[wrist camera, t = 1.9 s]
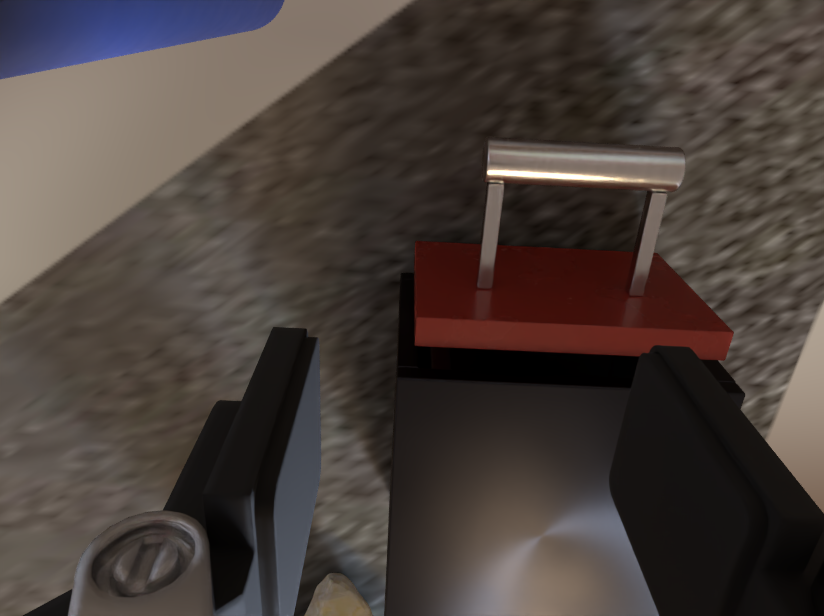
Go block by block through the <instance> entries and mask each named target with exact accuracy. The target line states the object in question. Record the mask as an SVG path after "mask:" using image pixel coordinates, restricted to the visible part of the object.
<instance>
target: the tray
mask: <svg viewBox="0 0 824 616" xmlns="http://www.w3.org/2000/svg"><path fill="white" fill-rule="evenodd" d="M685 169H686V157H685V153H684V151H683V150H682V149H681V148H679V147H663V146H645V145H627V144H609V143H590V142H572V141H554V140H536V139H518V138H499V137H487V138H486V140H485V143H484V148H483V156H482V179H483V182H487V186H486V195H485V205H484V214H483V223H482V232H481V241H480V244H467V243H448V242H428V241H416V242H415V256H414V330H415V346H423V358H422V368H426V369H448V370H469V371H491V372H513V373H535V374H556V375H578V376H600V377H621V378H634V374H635V370H636V366H637V362H638V359H639V357H640V355H641V354H642V353H649V351H650V350H651V348H652V347H653V346H655V345H661V346H682V347H690V348H691V349H692V350H693V351H694V352H695V354H696V355H697V356H698V357H699V359H702V360H723V361H724V360H725V359H726V356H727V352H728V349H729V346H730V343H731V340H732V337H733V334H734V332H733V331H732V330H731V329H730V328H729V327H728V326H727V325H726V324H725V323H724V322H723V321H722V320H721V319H720V318H719V317H718V316H717V315H716V313H715V312H714V311H713V310H712V309H711V308H710V307H709V306H708V305H707V304H706V303H705V302H704V301H703V300H702V299H701V298H700V297H699V296H698V295H697V294H696V293H695V292H694V291H693V290H692V289H691V288H690V287H689V286H688V285H687V283H686V282H685V281H684V280H683V279H682V278H681V277H680V276H679V275H678V274H677V273H676V272H675V271H674V270H673V269H672V268H671V267H670V266H669V265H668V264H667V263H666V262H665V261H664V260H663V259H662V258H661V257H660V256H659V254H658V253H654V249H655V245H656V241H657V237H658V233H659V229H660V225H661V220H662V216H663V212H664V208H665V204H666V200H667V196H668V194H667V193H666V192H675V191H677V190H678V188H679V187H680V186H681V184H682V181H683V178H684V175H685ZM504 183H505V184H524V185H543V186H562V187H580V188H599V189H618V190H637V191H647V194H646V198H645V203H644V207H643V212H642V216H641V221H640V225H639V229H638V234H637V238H636V243H635V247H634V251H633V252H625V251H605V250H585V249H566V248H546V247H526V246H507V245H498V237H499V229H500V220H501V212H502V204H503V196H504V188H505V186H504Z"/></svg>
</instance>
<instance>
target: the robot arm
mask: <svg viewBox="0 0 824 616" xmlns="http://www.w3.org/2000/svg"><path fill="white" fill-rule="evenodd" d="M320 472H321V425H320V355H319V338H317V337H308V332H307V329H303V328H282V327H273V329H272V331H271V333H270V336H269V338H268V340H267V343H266V345H265V347H264V350H263V352H262V354H261V357H260V359H259V361H258V364H257V366H256V368H255V371H254V373H253V376H252V378H251V380H250V383H249V385H248V387H247V390H246V392H245V394H244V397H243V399H242V401H224V400H220V401H218V402H216V404H215V405H214V407H213V409H212V411H211V413H210V415H209V417H208V419H207V421H206V423H205V425H204V427H203V429H202V431H201V433H200V435H199V437H198V439H197V441H196V444H195V446H194V448H193V450H192V452H191V454H190V456H189V458H188V460H187V462H186V464H185V466H184V468H183V470H182V472H181V474H180V476H179V478H178V480H177V482H176V485H175V487H174V489H173V491H172V493H171V495H170V497H169V499H168V501H167V503H166V505H165V507H164V509H163V511H152V512H145V513H142V514H138V515H135V516H131V517H128V518H126V519H124V520H122V521H120V522H118V523H116V524H114V525H112V526H110V527H109V528H107V529H106V530H105V531H103V532H102V533H101V534H100V535H98V536H97V537H96V538H95V539H94V540H93V541H92V542H91V543H90V545H89V546H88V547H87V548H86V550H85V551H84V552H83V553H82V556H81V558H80V561H79V563H78V566H77V569H76V573H75V579H74V585H73V589H71V590H69V591H68V592H66V593H64V594H62V595H60V596H58V597H56V598H55V599H53V600H51V601H49V602H47V603H45V604H44V605H42V606H40V607H38V608H36V609H34V610H32V611H31V612H29V613H27V614H25V615H23V616H294V611H295V606H296V601H297V596H298V590H299V585H300V580H301V575H302V570H303V564H304V559H305V554H306V549H307V544H308V538H309V533H310V528H311V523H312V518H313V512H314V507H315V502H316V497H317V492H318V486H319V481H320ZM609 488H610V493H611V496H612V499H613V501H614V504H615V506H616V509H617V511H618V514H619V516H620V519H621V521H622V524H623V526H624V529H625V531H626V534H627V536H628V539H629V541H630V544H631V546H632V549H633V551H634V554H635V556H636V559H637V561H638V564H639V566H640V569H641V571H642V574H643V576H644V579H645V581H646V584H647V586H648V589H649V591H650V594H651V596H652V599H653V601H654V604H655V606H656V609H657V611H658V614H659V616H824V513H823V512H822V511H821V510H820V509H819V507H818V506H817V505H816V504H815V502H814V501H813V500H812V499H811V497H810V496H809V495H808V493H807V492H806V491H805V490H804V489H803V487H802V486H801V485H800V483H799V482H798V481H797V480H796V478H795V477H794V476H793V475H792V473H791V472H790V471H789V470H788V469H787V467H786V466H785V465H784V463H783V462H782V461H781V460H780V459H779V457H778V456H777V455H776V453H775V452H774V451H773V450H772V449H771V447H770V446H769V445H768V443H767V442H766V441H765V440H764V438H763V437H762V436H761V435H760V433H759V432H758V431H757V430H756V428H755V427H754V426H753V425H752V423H751V422H750V421H749V420H748V418H747V417H746V416H745V415H744V413H743V412H742V411H741V410H740V409H739V407H738V406H737V405H736V404H735V402H734V401H733V400H732V399H731V397H730V396H729V395H728V394H727V392H726V391H725V390H724V389H723V387H722V386H721V385H720V384H719V382H718V381H717V380H716V379H715V377H714V376H713V375H712V374H711V372H710V371H709V370H708V369H707V367H706V366H705V365H704V364H703V362H702V361H701V360H700V359H699V357H698V356H697V355H696V354H695V352H694V351H693V350H692V349H691V348H690V347H682V346H661V345H655V346H653V347H652V348H651V350H650V351H649V353H642V354H641V355H640V357H639V359H638V362H637V366H636V370H635V374H634V378H633V382H632V386H631V390H630V394H629V398H628V402H627V406H626V410H625V414H624V418H623V422H622V426H621V430H620V434H619V438H618V442H617V446H616V450H615V454H614V458H613V462H612V466H611V470H610V474H609Z"/></svg>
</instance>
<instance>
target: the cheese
mask: <svg viewBox="0 0 824 616" xmlns="http://www.w3.org/2000/svg"><path fill="white" fill-rule="evenodd" d="M304 616H373V614H372V612H371V609H370V607H369V605H368V603H367V602H366V601H365V600H364V598H363V597H362V596H361V595H360V594H359V592H358V591H357V589H356V587H355V586H354V584H353V583H352V582H351V581H350V580H349V579H348V578H347V577H346V576H345V575H343V574H342V573H330V574H328V575H327V576H326V577H325V578H324V579H323V581H322V582H321V583H320V584H319V585H317V587H316V590H315V592H314V595H313V598H312V601H311V603H310V605H309V607H308V609H307V612H306V614H305V615H304Z"/></svg>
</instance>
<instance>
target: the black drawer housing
mask: <svg viewBox="0 0 824 616" xmlns="http://www.w3.org/2000/svg"><path fill="white" fill-rule="evenodd" d="M422 358H423V346H415V330H414V273H401V280H400V300H399V320H398V340H397V360H396V380H395V400H394V420H393V440H392V460H391V481H390V501H389V523H388V545H387V567H386V589H385V611H384V616H659V614H658V611H657V609H656V606H655V604H654V601H653V599H652V596H651V594H650V591H649V589H648V586H647V584H646V581H645V579H644V576H643V574H642V571H641V569H640V566H639V564H638V561H637V559H636V556H635V554H634V551H633V549H632V546H631V544H630V541H629V539H628V536H627V534H626V531H625V529H624V526H623V524H622V521H621V519H620V516H619V514H618V511H617V509H616V506H615V504H614V501H613V499H612V496H611V493H610V488H609V474H610V470H611V466H612V462H613V458H614V454H615V450H616V446H617V442H618V438H619V434H620V430H621V426H622V422H623V418H624V414H625V410H626V406H627V402H628V398H629V394H630V390H631V386H632V382H633V378H621V377H600V376H578V375H556V374H535V373H513V372H491V371H469V370H448V369H426V368H422ZM700 360H701V361H702V362H703V364H704V365H705V366H706V367H707V369H708V370H709V371H710V372H711V374H712V375H713V376H714V377H715V379H716V380H717V381H718V382H719V384H720V385H721V386H722V387H723V389H724V390H725V391H726V392H727V394H728V395H729V396H730V397H731V399H732V400H733V401H734V402H735V404H736V405H737V406H738V407H739V409H741V406H742V403H743V400H744V397H745V393H744V392H743V391H742V389H741V388H740V387H739V386H738V385H737V384H736V383H735V380H734V379H733V378H732V377H731V376H730V374H729V373H728V372H727V371H726V370H725V369H724V367H723V366H722V365H721V364H720V363H719V361H718V360H702V359H700Z"/></svg>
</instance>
